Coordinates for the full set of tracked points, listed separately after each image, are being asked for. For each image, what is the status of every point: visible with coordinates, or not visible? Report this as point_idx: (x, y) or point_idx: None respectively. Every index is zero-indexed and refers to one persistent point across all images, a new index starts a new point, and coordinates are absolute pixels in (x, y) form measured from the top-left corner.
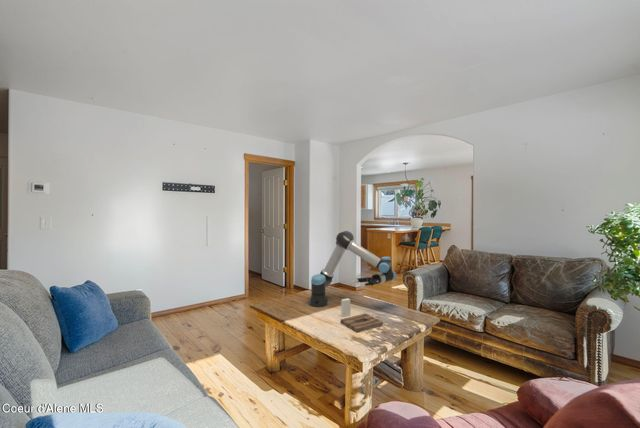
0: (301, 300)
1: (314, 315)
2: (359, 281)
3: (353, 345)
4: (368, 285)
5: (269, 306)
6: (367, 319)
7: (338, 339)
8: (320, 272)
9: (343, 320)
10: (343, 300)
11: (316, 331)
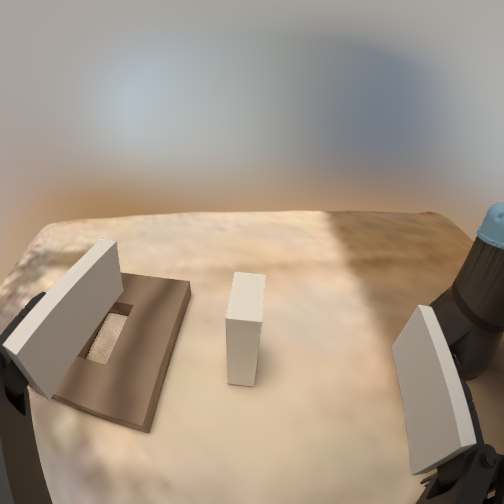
0: None
1: (329, 271)
2: (436, 502)
3: (75, 236)
4: (37, 389)
5: (439, 229)
6: (86, 359)
7: (121, 231)
8: None
9: (170, 281)
10: (240, 273)
11: (202, 222)
